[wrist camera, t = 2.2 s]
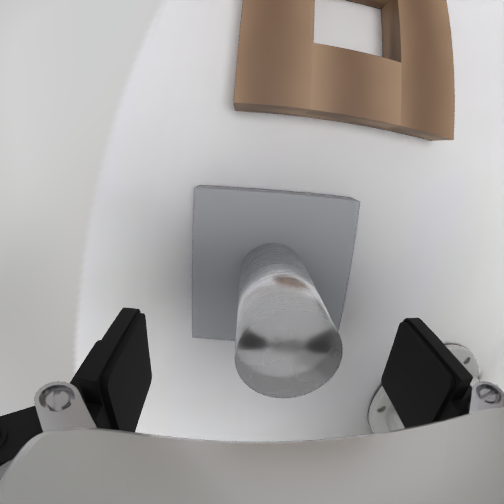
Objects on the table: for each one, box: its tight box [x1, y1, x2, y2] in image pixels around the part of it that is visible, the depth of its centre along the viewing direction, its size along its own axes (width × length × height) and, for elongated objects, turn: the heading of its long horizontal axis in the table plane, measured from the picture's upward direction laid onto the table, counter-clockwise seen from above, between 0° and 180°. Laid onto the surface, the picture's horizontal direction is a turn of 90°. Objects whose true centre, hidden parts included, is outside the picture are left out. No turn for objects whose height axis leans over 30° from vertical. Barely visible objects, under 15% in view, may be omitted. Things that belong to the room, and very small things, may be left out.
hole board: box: [234, 0, 455, 141], centre depth 16 cm, size 14×14×3 cm
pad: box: [192, 185, 360, 341], centre depth 21 cm, size 10×10×2 cm
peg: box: [235, 243, 342, 398], centre depth 15 cm, size 4×4×9 cm
